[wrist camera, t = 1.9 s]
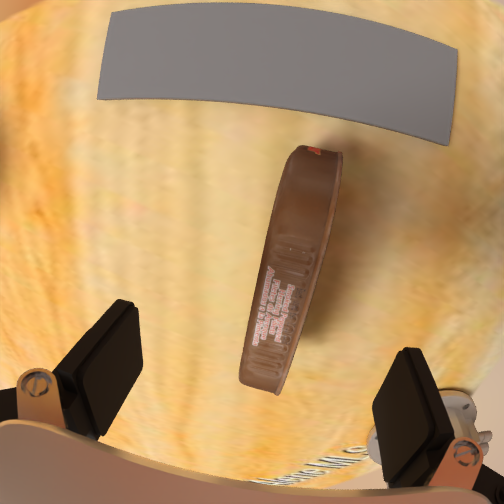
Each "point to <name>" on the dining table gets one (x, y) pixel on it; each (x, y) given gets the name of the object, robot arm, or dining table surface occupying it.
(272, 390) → the tin
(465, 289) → the dining table surface
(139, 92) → the charcoal mat
